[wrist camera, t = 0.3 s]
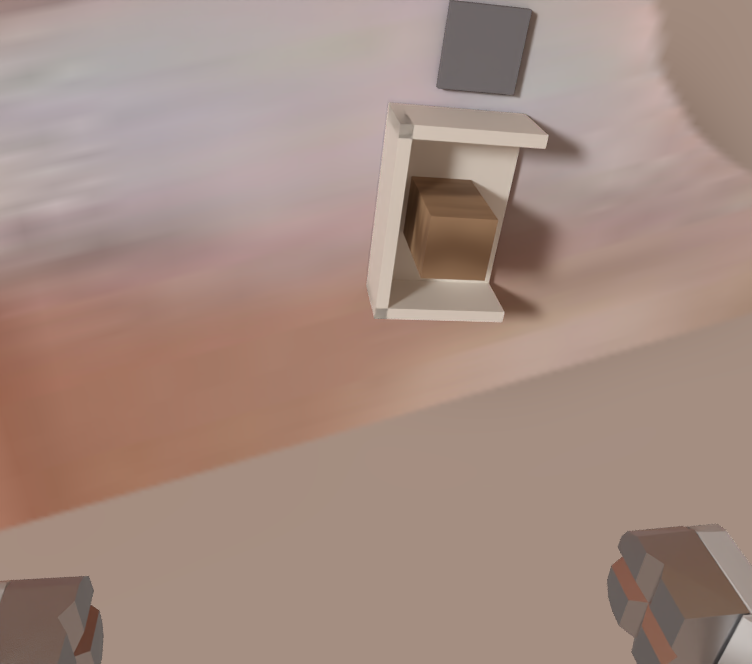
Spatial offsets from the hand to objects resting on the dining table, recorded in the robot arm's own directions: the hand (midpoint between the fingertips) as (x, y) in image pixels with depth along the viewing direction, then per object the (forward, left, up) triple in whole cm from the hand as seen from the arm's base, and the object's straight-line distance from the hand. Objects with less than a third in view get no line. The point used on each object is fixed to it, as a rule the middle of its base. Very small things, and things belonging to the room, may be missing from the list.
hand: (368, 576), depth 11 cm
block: (+12, +13, -46) cm, 49 cm away
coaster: (0, +14, -46) cm, 48 cm away
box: (+12, +13, -46) cm, 50 cm away
